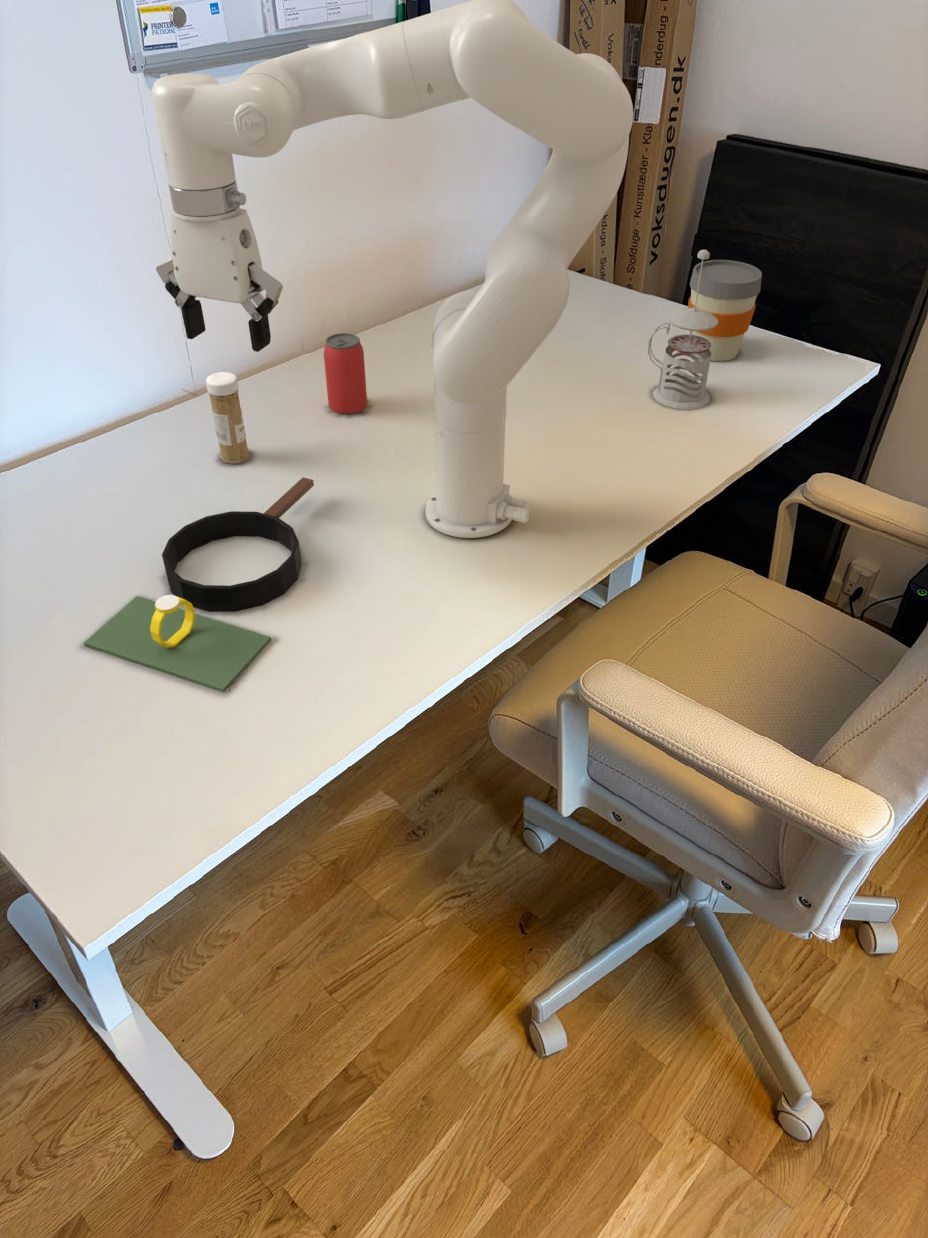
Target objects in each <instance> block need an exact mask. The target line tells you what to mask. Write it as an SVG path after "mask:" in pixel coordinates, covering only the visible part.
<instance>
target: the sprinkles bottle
mask: <svg viewBox="0 0 928 1238" xmlns="http://www.w3.org/2000/svg"><path fill="white" fill-rule="evenodd" d="M205 384H206V385H205V386H206V391H207V393H208V395H209V400H210V404H211V413H212V418H213V424H214V429H215V434H216V440H217V443H218V449H219V453H220V454H219V458H220V460H221V461H222V462H224V463H226V464H232V465H234V464H240V463H243V462H245V461H246V460H248V459H249V457H250V451H249V448H248V441H247V435H246V428H245V423H244V418H243V412H242V411H243V410H242V408H241V403H240V397H239V380H238V377H237V375H236V374H234V373H232V372H228V371H220V372H219V371H218V372H215V373H212V374H210V375H208V376H207V377H206V379H205Z"/></svg>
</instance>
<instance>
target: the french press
mask: <svg viewBox="0 0 928 1238" xmlns="http://www.w3.org/2000/svg"><path fill="white" fill-rule="evenodd" d="M710 255H711V253H710V252H709V251H708V250H707V249H701V250H699V251H698V253H697V258H698V260H699V259H700V260H701V262H702V263H701V262H700V263H701V270H700V276H699V282H698V289H697V295H696V301H695V308H688V307H687V308H680V309H677V310H675V311H673V312H672V313H670V314H669V315H668V321H669V322H667V321H666V322H664V323H661V324H659V325H658V326H657V327H655V328H654V329H653V331H652V333H651V335H650V338H649V340H648V343H647V345H648V346H647V354H648V358H649V360H650V361H651V363H653V365H655V366H656V367H658V368H659V369H660V373H659V374H660V375H659V382H658V386H657V387H656V388H655V389H654V390H653V391H652V398H653V399H654V400H655V401H656V402H657V403H659V404H661V405H663V406H665V407H668V408H672V409H677V410H693V409H694V410H695V409H699V408H702V407H704V406H707V404H708V403H709V402H710V395H709V394H708V392H707V391H706V387H707V382H708V375H709V371H710V366H711V365H710V364H711V361H710V359H711V351H710V350H709V348H710V347H711V343H710V342H709V341H708V340H707V339H705V338H702V337H699V336H697V335H696V336H695V335H693V334H692V331H708V330H711V329H713V328H714V327H715V326H716V325H717V324H718V319H717V318H716V317H714V316H713V315H712V314H711V313H710V312H708V311H705V310H703V309H698V308H696V303H697V297H698V291H699V284H700V278H701V272H702V266H703V262H704V260H709V259H710ZM666 325H667V326H666ZM671 326H674V327H675V328H677V329H680V330H683V331H689V334H685V333H684V334H676V335H673V336H671V337H669V339H668V340H667V344H668V345H666V347H665V351H664V357H663V362H662V361H660V360H659V359H658V358H656V356H655V355H654V352H653V350H652V342H653V341H652V339H653V337H654V336H655V334H656V333H657V332H659V331H660V330H662V329H666V334H667V335H668V334H669V332H670V328H671ZM690 331H691V333H690ZM674 352H676V353H674ZM693 354H697V355H699V356H700V357H701V358H703V359H701V358H699V357H696V356H694V355H693ZM681 356H684V357H685V356H686V357H689V358H691V359H692V360H693V361H692V360H690V359H687V358H683V357H682V358H676V357H681ZM653 359H654V360H655V361H656V362H658V363H660V364H661V366H660V365H658V364H657V363H656V362H655V361H654V360H653ZM700 359H701V360H700ZM672 366H674V367H672ZM683 370H684V371H683ZM685 371H688V372H689V373H690V374H688V373H687V372H685ZM671 373H672V374H671ZM699 374H700V375H699Z"/></svg>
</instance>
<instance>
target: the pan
mask: <svg viewBox="0 0 928 1238" xmlns="http://www.w3.org/2000/svg"><path fill="white" fill-rule="evenodd" d="M314 481H315V480H314V479H313V478H307V477H301V478H300V479H299V480H297V482H295V484H293V485H292V486H291V487H290V488H289V489H288V490H287V491H286V492H285V493H284V494H283V495H282V496H281V497H279V499H277V500H276V501H275V502H274V503H273V504H271V506H269V507H268V508H267V509H266V510H265V511H264V512H260V511H240V510H239V511H238V510H237V511H235V510H233V511H232V510H231V511H226V512H222V513H216V514H212V515H206V516H204V517H202V518H199V519H197V520H194V521H192V522H190V523H187V524H186V525H184V526H182V527H181V528H180V529H179V530H178V531H176V533H174V534H173V535H172V536H171V537H169V539H168V540H167V542H166V544H165V547H164V549H163V551H162V553H161V558H162V562H163V566H164V569H165V574H166V578H167V582H168V586H169V590H170V593H171V595H175V596H177V597H180V598H182V599H185V600H187V601H188V602H190V603H191V604H192V605H193V608H194V609H199V610H201V611H203V612H204V611H205V612H209V613H211V612H212V613H213V612H214V613H237V612H240V611H241V612H242V611H245V610H249V609H254V608H258V607H262V606H264V605H267V604H268V603H270V602H272V601H274V600H276V599H278V598H280V597H282V596H283V595H285V594H286V593H287V592H288V591H289V590H290V589H291V587H293V586H294V585H295V583H296V582H298V580H299V576H300V572H301V569H302V566H303V563H302V562H303V561H302V555H301V547H300V541H299V538H298V536H297V534H296V531H295V529H294V527H293V526H291V525H289V524H288V523H287V522H286V521H284V520H282V519H281V517H283V515H284V514H286V513H287V512H288V511H289V510H290V509H291V508H292V507H293V506H294V505H295V504H296V503H298V502H299V500H300V499H302V497H303V496H305V494H307V493H308V492H309V491H310V490H311V489H312V488H313V487H314V486H315V483H314ZM234 537H254V538H256V537H257V538H258V537H259V538H262V539H266V540H270V541H273V542H276V543H279V544H280V545H282V547H284V548H285V549H287V550H288V551H290V555H289V557H288V558H287V559H286V560H285V561H283V563H282V564H280V566H279V567H277V568H276V569H275V570H272V571H271V572H268V573H267V574H265V575H263V576H260V577H258V578H256V579H253V580H250V581H244V582H239V583H236V584H230V585H226V584H225V585H219V584H218V585H216V584H215V585H214V584H213V585H212V584H209V585H208V584H202V583H198V582H196V581H193V580H192V581H191V580H188V579H186V578H185V579H184V578H183V577H182V576H180V574H178V573H177V572H176V569H177V566H178V564H179V563H180V562H181V561H182V560H183V559H184V558H186V557H187V556H188V555H189V554H190V553H191V552H193V551H194V550H197V549H199V548H200V547H204V546H205V545H207V544H210V543H212V542H215V541H220V540H224V539H231V538H234Z"/></svg>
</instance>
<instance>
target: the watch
mask: <svg viewBox="0 0 928 1238" xmlns="http://www.w3.org/2000/svg"><path fill="white" fill-rule="evenodd" d="M155 602H156V603H155V607H156V611H155V613H154V615H153V617H152V620H151V627H150V629H151V630H150V632H151V635H152V639H153V640H154V641H155V642H157V643H158V644H160V645H162V646H164V647H167V648H172V647H175V646H176V645H177V644H178V643H179V642H180V641H181V640H183V639H184V638H185V637H186V636H187V635H188V634H190V632H191V630H192V628H193V625H194V622H195V614H196V610H195V608H194V607H193V605H192V604H191V603H190V602H188V601H187V600H185V599H182V598H180V597H177V596H175V595H173V594H165V595H162V596H160V597H159V598H157V599H156V601H155ZM181 604H182V606H183V608H184V611H185V620H184V622H183V625H182V627H181V629H180V630H179V631H178V632H176V633H175V634H174V635H173V636H172V637H171V638H170V639H169V640H168V641H163V640H162V637H161V633H160V631H161V624H162V621H163V619H164V617H165V615H166V614H169V613H173V612H175V611H176V610H178V609H180V608H181Z"/></svg>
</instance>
